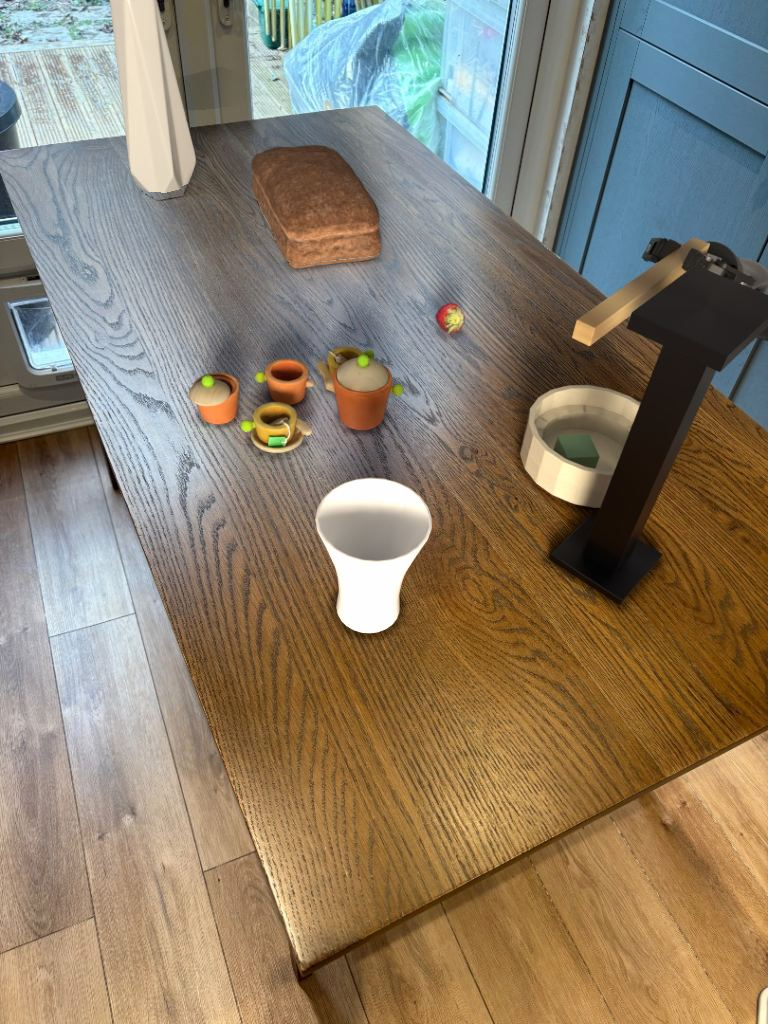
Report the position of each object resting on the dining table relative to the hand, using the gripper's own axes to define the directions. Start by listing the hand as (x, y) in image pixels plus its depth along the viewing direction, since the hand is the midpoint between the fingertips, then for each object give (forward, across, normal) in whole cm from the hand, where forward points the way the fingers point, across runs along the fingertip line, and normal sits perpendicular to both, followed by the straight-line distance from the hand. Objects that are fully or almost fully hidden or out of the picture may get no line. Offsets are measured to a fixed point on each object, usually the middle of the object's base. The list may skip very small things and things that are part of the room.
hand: (678, 254), depth 78 cm
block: (-5, 0, +26) cm, 27 cm away
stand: (+3, +10, +32) cm, 33 cm away
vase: (-13, -96, +22) cm, 99 cm away
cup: (+23, -4, +43) cm, 49 cm away
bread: (-23, -68, +17) cm, 74 cm away
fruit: (-17, -31, +20) cm, 41 cm away
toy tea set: (+9, -32, +35) cm, 48 cm away
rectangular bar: (+4, 0, +5) cm, 6 cm away
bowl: (-8, 0, +26) cm, 27 cm away
